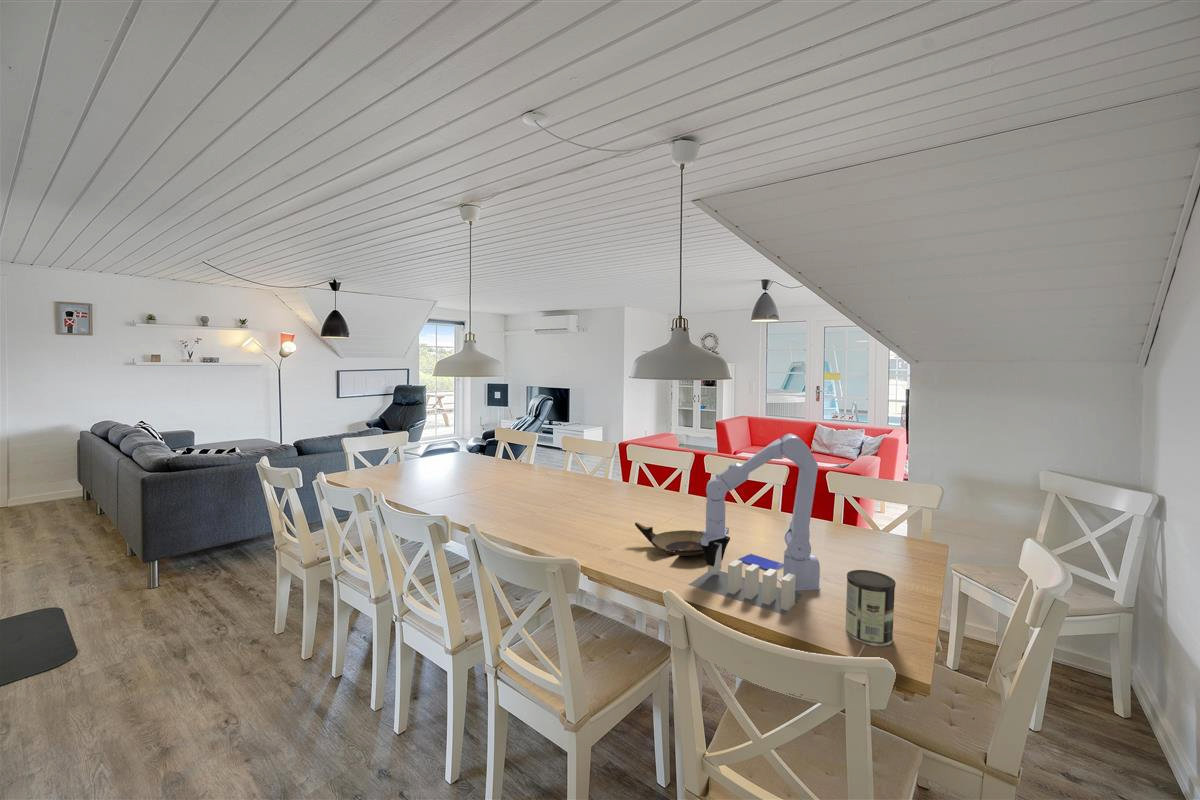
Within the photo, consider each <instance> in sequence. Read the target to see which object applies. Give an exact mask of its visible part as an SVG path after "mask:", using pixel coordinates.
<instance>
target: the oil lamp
mask: <svg viewBox="0 0 1200 800" xmlns="http://www.w3.org/2000/svg"><path fill="white" fill-rule="evenodd" d="M634 526H635V527H636V528H637V529H638V530H639V531H640V533H642V535H643V536H644V537H645V538H646V539H647V541H648V542H650V543H651V545H652V546H654V548H656V549H658V550H660V551H662V552H665V553H667V554H670V555H674V556H680V557H691V556H698V555H701V554H704V551H703V549H702V547H701V546H700V541H701V538H702V537H703V536H704V533H702V531H703V530H702V531H701V530H699V531H697V530H687V529H684V530H671V531H664V532H660V533H654V531H653V530H654V527H653V526H645V525H642V524H641V523H639V522H635V523H634Z"/></svg>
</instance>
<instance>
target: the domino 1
mask: <svg viewBox="0 0 1200 800" xmlns="http://www.w3.org/2000/svg"><path fill="white" fill-rule="evenodd" d="M714 544H717V545H720V546H719V548H718V550H717V553H716V559H715V564H714V566H710V565H707V572H708V573H711V574H715V573H717V572H718V571H721V570H722V561H723V560H722V561H721V559H722V544H721V543H717V542H715V543H714Z"/></svg>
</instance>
